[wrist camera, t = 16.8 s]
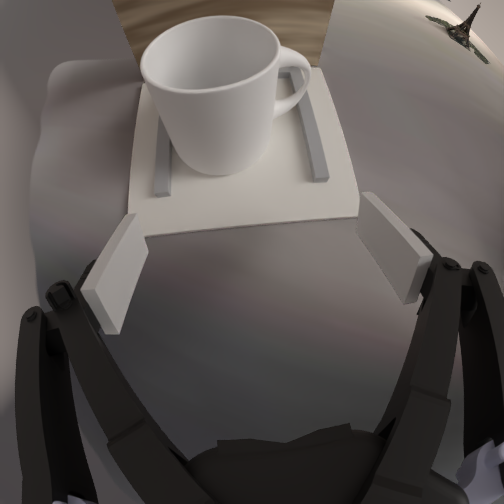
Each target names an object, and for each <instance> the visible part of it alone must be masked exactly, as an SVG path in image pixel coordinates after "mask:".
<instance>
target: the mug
mask: <svg viewBox="0 0 504 504" xmlns="http://www.w3.org/2000/svg"><path fill="white" fill-rule="evenodd" d="M283 67H298V68H300V69H301V70H303V72H304V75H305V80H304V83H303V85H302V87H301V88H300V89H299V90H298V91H297V92H296V93H294V94H293V95H291V96H289V97H287V98H283V99H275V97H276V87H277V79H278V71H279V68H283ZM140 70H141V74H142V76H143V78H144V81H145V83H146V85H147V88H148V90H149V92H150V95H151V97H152V99H153V101H154V104H155V106H156V108H157V110H158V113H159V115H160V117H161V119H162V122H163V124H164V126H165V128H166V131H167V133H168V135H169V137H170V140H171V142H172V144H173V146H174V148H175V150H176V152H177V154H178V155H179V157H180V158H181V159H182V161H183V162H184V163H186V164H187V165H188V166H189V167H191V168H192V169H194V170H196V171H198V172H201V173H204V174H208V175H229V174H234V173H237V172H240V171H243V170H244V169H246V168H248V167H250V166H251V165H253V164H254V163H255V162H257V161H258V160H259V159H260V158H261V156H262V155H263V154H264V152H265V150H266V148H267V146H268V144H269V141H270V137H271V130H272V121H273V119H275V118H277V117H279V116H281V115H283V114H285V113H286V112H288V111H289V110H290V109H292V108H293V107H294V106H295V105H296V104H297V103H298V102H299V100H300V99H301V98H302V96H303V95H304V93H305V91H306V89H307V87H308V85H309V82H310V78H311V67H310V64H309V62H308V61H307V59H306V58H305V57H304V56H303V55H301V54H300V53H298V52H296V51H294V50H292V49H290V48H287V47H283V46H281V45H280V42H279V39H278V38H277V36H276V35H275V33H274V32H273V31H272V30H270V29H269V28H268V27H266V26H265V25H263V24H261V23H259V22H257V21H254V20H251V19H248V18H243V17H237V16H227V15H219V16H208V17H201V18H196V19H193V20H189V21H186V22H183V23H180V24H178V25H176V26H174V27H172V28H170V29H168V30H166V31H165V32H163V33H162V34H160V35H159V36H158V37H156V38H155V39H154V40H153V41H152V42H151V43H150V44H149V45H148V47H147V48H146V49H145V51H144V53H143V55H142V57H141V62H140Z"/></svg>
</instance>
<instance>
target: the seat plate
mask: <svg viewBox="0 0 504 504" xmlns="http://www.w3.org/2000/svg"><path fill="white" fill-rule="evenodd" d="M304 80H305V75H304V72H303V70H301V69H300V68H298V67H283V68H279V71H278V79H277V87H276V97H275V99H283V98H287V97H289V96H291V95H293V94H294V93H296V92H297V91H298V90H299V89H300V88H301V87H302V85H303V83H304ZM359 203H360V196H359V192H358V187H357V183H356V179H355V175H354V171H353V167H352V163H351V159H350V156H349V152H348V149H347V145H346V142H345V138H344V135H343V131H342V128H341V125H340V122H339V119H338V116H337V113H336V110H335V107H334V104H333V101H332V98H331V95H330V92H329V89H328V87H327V84H326V81H325V79H324V76H323V73H322V71H321V68H311V78H310V82H309V85H308V87H307V89H306V91H305V93H304V95H303V96H302V98H301V99H300V100H299V102H298V103H297V104H296V105H295V106H294V107H293V108H292V109H290V110H289V111H288V112H286V113H285V114H283V115H281V116H279V117H277V118H275V119H273V121H272V130H271V137H270V141H269V144H268V146H267V148H266V150H265V152H264V154H263V155H262V156H261V158H260V159H259V160H258V161H257V162H255V163H254V164H253V165H251V166H250V167H248V168H246V169H244V170H243V171H240V172H237V173H234V174H229V175H208V174H204V173H201V172H198V171H196V170H194V169H192V168H191V167H189V166H188V165H187V164H186V163H184V162H183V161H182V159H181V158H180V157H179V155H178V154H177V152H176V150H175V148H174V146H173V144H172V142H171V140H170V137H169V135H168V133H167V131H166V128H165V126H164V124H163V122H162V119H161V117H160V115H159V113H158V110H157V108H156V106H155V104H154V101H153V99H152V97H151V95H150V92H149V90H148V88H147V85H146V83H144V84H143V85H142V90H141V95H140V101H139V106H138V113H137V119H136V126H135V133H134V141H133V150H132V159H131V170H130V183H129V200H128V214H133V213H137V215H138V218H139V222H140V225H141V229H142V232H143V235H144V238H146V237H154V236H163V235H171V234H180V233H189V232H199V231H208V230H218V229H228V228H238V227H249V226H260V225H271V224H282V223H294V222H306V221H319V220H333V219H347V218H358V211H359Z"/></svg>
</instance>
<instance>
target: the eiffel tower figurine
mask: <svg viewBox="0 0 504 504" xmlns="http://www.w3.org/2000/svg"><path fill="white" fill-rule="evenodd" d="M480 4H481V3H480ZM479 8H480V5H477V8H476V9H475V10H474V11H473V13H472V14H471V15H470V17H469V18H468V19H467V20H466V21H464V22H463V23H462V24H460V25H456V26H452V25H451V24H449V23H448V22H446V21H444V20H441V19H438V18H434V17H430V16H426V17H427V18H428V19H429V20H430V21H434V22H436V23H438V24H440V25H442V26H444V27H445V28H446V30H447V32H448V35H449V37H450V38H451V39H453V40H455V41H456V42H458V43H459V44H461V45H462V46H464V47H465V48H467V49H468V50H469V51H470V48H469V47H471V48H473V49H474V51H475V52H474V53H475V54H476V55H477V56H478V58H479V59H481V60H482V61H483V62H484V63H485V64H490V63H489V61H488V60H487V59H486V58H485V57H484V56H483V55H482V54H481V53H480V52H479V51H478V50H477V48H476V47H475V46H474V45H473V44H472V43H471V42H470V41H469V37H470V36H469V31H470V28H471V24H472V21H473V19H474V17H475V15H476V13H477V11H478V9H479ZM465 27H466V28H465ZM464 28H465V29H464Z"/></svg>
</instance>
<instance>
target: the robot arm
mask: <svg viewBox="0 0 504 504" xmlns="http://www.w3.org/2000/svg"><path fill="white" fill-rule="evenodd" d="M356 233H357V234H358V236H359V237H360V239H361V240H362V242H363V243H364V244H365V246H366V247H367V249H368V250H369V252H370V253H371V255H372V256H373V257H374V259H375V260H376V262H377V263H378V265H379V266H380V268H381V269H382V271H383V273H384V274H385V276H386V277H387V279H388V280H389V282H390V283H391V285H392V287H393V288H394V290H395V291H396V293H397V295H398V296H399V298H400V300H401V301H402V303H403V304H404V305H405V304H409V303H414V302H416V301H417V299H418V296H419V294H420V293H421V294H422V296H423V297H424V298H423V301H422V303H421V306H420V308H419V310H418V312H417V315H418V319H417V323H416V327H415V330H414V334H413V337H412V340H411V344H410V347H409V350H408V353H407V356H406V359H405V362H404V365H403V368H402V371H401V374H400V376H399V379H398V382H397V384H396V387H395V390H394V392H393V395H392V397H391V399H390V402H389V404H388V407H387V409H386V411H385V413H384V416H383V418H382V420H381V421H380V423H379V425H378V426H377V428H376V429H375V431H374V433H370V432H367V431H362V430H351V426H350V423H347V424H343V425H339V426H334V427H330V428H325V429H320V430H317V431H315V432H312V433H310V434H308V435H305V436H303V437H300V438H298V439H295V440H293V441H290V442H287V443H280V442H271V441H263V440H256V439H239V440H217V447H215V448H212V449H209V450H206V451H204V452H202V453H200V454H198V455H197V456H195V457H194V458H192V459H191V460H190V461H189V460H188V459H187V458H186V457H185V456H184V455H183V454H182V453H181V452H180V451H179V450H178V449H177V448H176V447H175V445H174V444H173V443H172V442H171V441H170V440H169V438H168V437H167V436H166V435H165V433H164V432H163V431H162V430H161V428H160V427H159V426H158V424H157V423H156V422H155V421H154V419H153V418H152V417H151V415H150V414H149V412H148V411H147V410H146V408H145V407H144V406H143V404H142V403H141V401H140V400H139V398H138V397H137V396H136V394H135V393H134V391H133V390H132V388H131V387H130V385H129V384H128V382H127V380H126V379H125V377H124V376H123V374H122V372H121V371H120V369H119V368H118V366H117V364H116V363H115V361H114V359H113V358H112V356H111V354H110V352H109V351H108V349H107V347H106V345H105V343H104V342H103V340H102V338H101V336H100V335H99V333H98V331H99V329H100V326H101V328H102V329H103V331H104V332H105V334H120V331H121V328H122V325H123V322H124V319H125V315H126V312H127V309H128V307H129V304H130V301H131V298H132V295H133V292H134V289H135V287H136V284H137V281H138V278H139V276H140V273H141V270H142V268H143V265H144V263H145V260H146V257H147V255H148V249H147V245H146V242H145V239H144V235H143V232H142V229H141V225H140V222H139V218H138V215H137V213H133V214H127V215H125V216H124V218H123V219H122V221H121V222H120V224H119V225H118V227H117V228H116V230H115V231H114V233H113V235H112V236H111V238H110V239H109V241H108V243H107V244H106V246H105V247H104V249H103V251H102V252H101V254H100V256H99V257H98V259H97V260H93V261H92V262H91V263H90V264H89V265H88V266H87V267H86V269H85V271H84V272H83V274H82V276H81V278H80V279H79V281H78V283H77V285H76V286H75V288H74V290H73V289H72V287H71V285H70V283H69V282H68V281H65V280H63V281H59V282H57V283H55V284H53V285H52V286H51V287H50V288H49V289H48V290H47V292H46V296H45V298H46V299H47V301H48V303H49V304H50V306H51V307H52V309H53V311H50V312H47V313H44V312H43V311H42V309H41V308H40V307H39V306H35V307H31V308H30V309H28V310H27V311H26V312H25V313H24V315H23V316H22V319H21V324H20V331H19V339H18V348H17V359H16V377H15V378H16V379H15V412H16V413H15V415H16V430H17V441H18V450H19V458H20V464H21V470H22V475H23V481H22V504H98V499H97V494H96V490H95V486H94V483H93V479H92V476H91V473H90V470H89V467H88V463H87V459H86V456H85V452H84V448H83V444H82V440H81V436H80V431H79V427H78V422H77V417H76V412H75V406H74V400H73V393H72V386H71V378H70V369H69V358H70V361H71V363H72V366H73V368H74V371H75V373H76V376H77V378H78V380H79V383H80V385H81V387H82V389H83V392H84V394H85V396H86V398H87V400H88V402H89V404H90V406H91V408H92V410H93V412H94V414H95V416H96V418H97V420H98V422H99V424H100V426H101V427H102V429H103V431H104V433H105V434H106V436H107V438H108V441H109V442H108V443H107V447H108V449H109V451H110V453H111V455H112V457H113V458H114V460H115V461H116V463H117V465H118V466H119V468H120V469H121V471H122V472H123V474H124V475H125V477H126V478H127V479H128V481H129V482H130V484H131V485H132V487H133V488H134V489H135V491H136V492H137V493H138V495H139V496H140V497H141V499H142V500H143V501H144V502H145V504H490V503H492V502H493V501H495V500H496V499H498V498H499V497H501V496H503V495H504V297H503V294H502V292H501V289H500V286H499V284H498V281H497V279H496V276H495V274H494V272H493V270H492V268H491V267H490V266H489V265H488V264H486V263H485V262H481V261H475V262H474V263H473V265H472V267H471V269H463V268H461V266H460V265H459V263H458V262H456V261H455V260H453V259H451V258H447V257H441V256H440V254H439V253H438V252H437V251H436V250H435V249H434V248H433V247H432V246H431V245H430V244H429V242H428V241H427V240H425V238H424V237H423V236H422V235H421V234H420V233H419V232H417V231H415V230H414V229H412V228H411V229H409V228H408V227H407V226H406V225H405V224H404V223H403V222H402V220H401V219H400V218H399V217H398V216H397V215H396V214H395V213H394V212H392V211H391V210H390V209H389V208H388V207H387V206H386V205H385V204H384V203H383V202H382V201H381V200H380V199H379V198H378V197H377V196H376V195H375V194H374V193H373V192H361V193H360V203H359V211H358V219H357V227H356ZM458 331H459V338H460V346H461V355H462V366H463V381H464V442H463V445H464V458H465V459H464V460H463V462H462V465H461V467H460V468H459V469H458V470H457V473H456V478H457V480H458V481H459V482H458V484H455V483H454V482H452V481H450V480H448V479H447V478H445V477H443V476H441V475H440V474H438V473H436V472H435V471H433V470H431V467H432V464H433V462H434V459H435V456H436V454H437V451H438V448H439V445H440V442H441V439H442V436H443V433H444V429H445V426H446V423H447V419H448V415H449V412H450V407H451V401H450V400H449V399H447V392H448V388H449V383H450V379H451V374H452V369H453V363H454V357H455V351H456V344H457V337H458ZM68 355H69V358H68Z"/></svg>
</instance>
